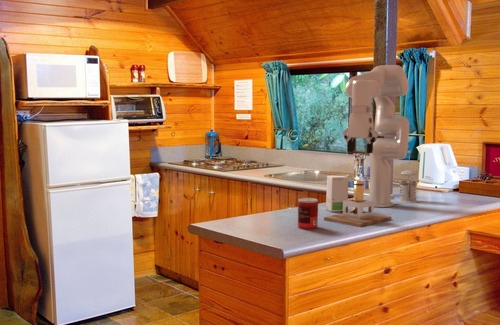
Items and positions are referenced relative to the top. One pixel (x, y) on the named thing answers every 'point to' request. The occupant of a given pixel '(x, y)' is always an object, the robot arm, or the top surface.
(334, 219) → the stand board
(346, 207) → the collar cage
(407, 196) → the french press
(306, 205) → the canned food
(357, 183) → the brass tube
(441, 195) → the top surface
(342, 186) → the skincare box
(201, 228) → the top surface
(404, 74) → the robot arm
